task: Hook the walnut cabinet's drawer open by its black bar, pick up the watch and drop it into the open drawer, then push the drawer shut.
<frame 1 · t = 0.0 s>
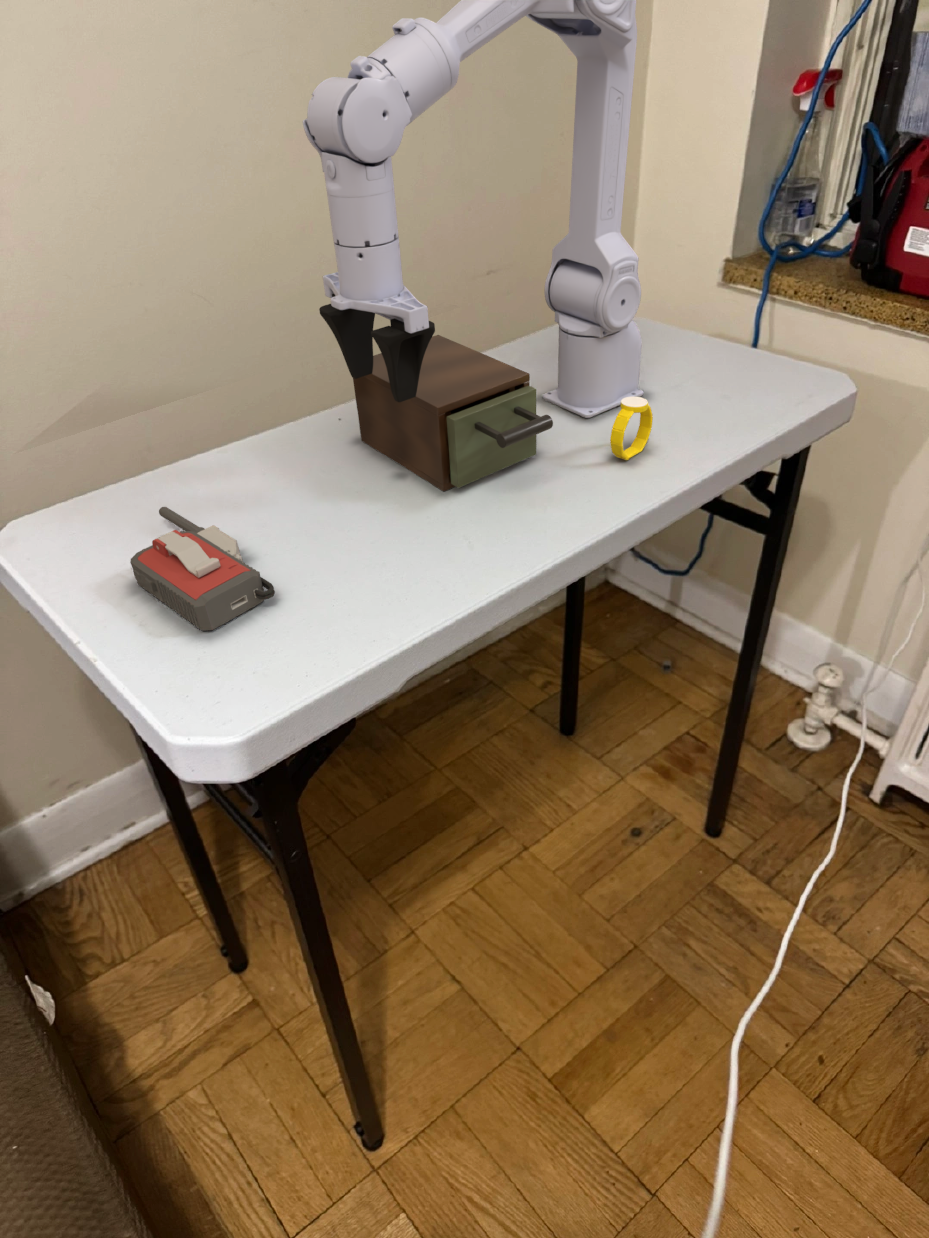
hand: (383, 386, 84), 10 cm above the table, tool pointing down, fingers open, 7 cm apart
drawer: (467, 423, 89), point 5 cm above the table, slide at 0.5 cm
cabinet: (443, 447, 95), on the table
watch: (629, 456, 92), on the table
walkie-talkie: (192, 575, 78), on the table
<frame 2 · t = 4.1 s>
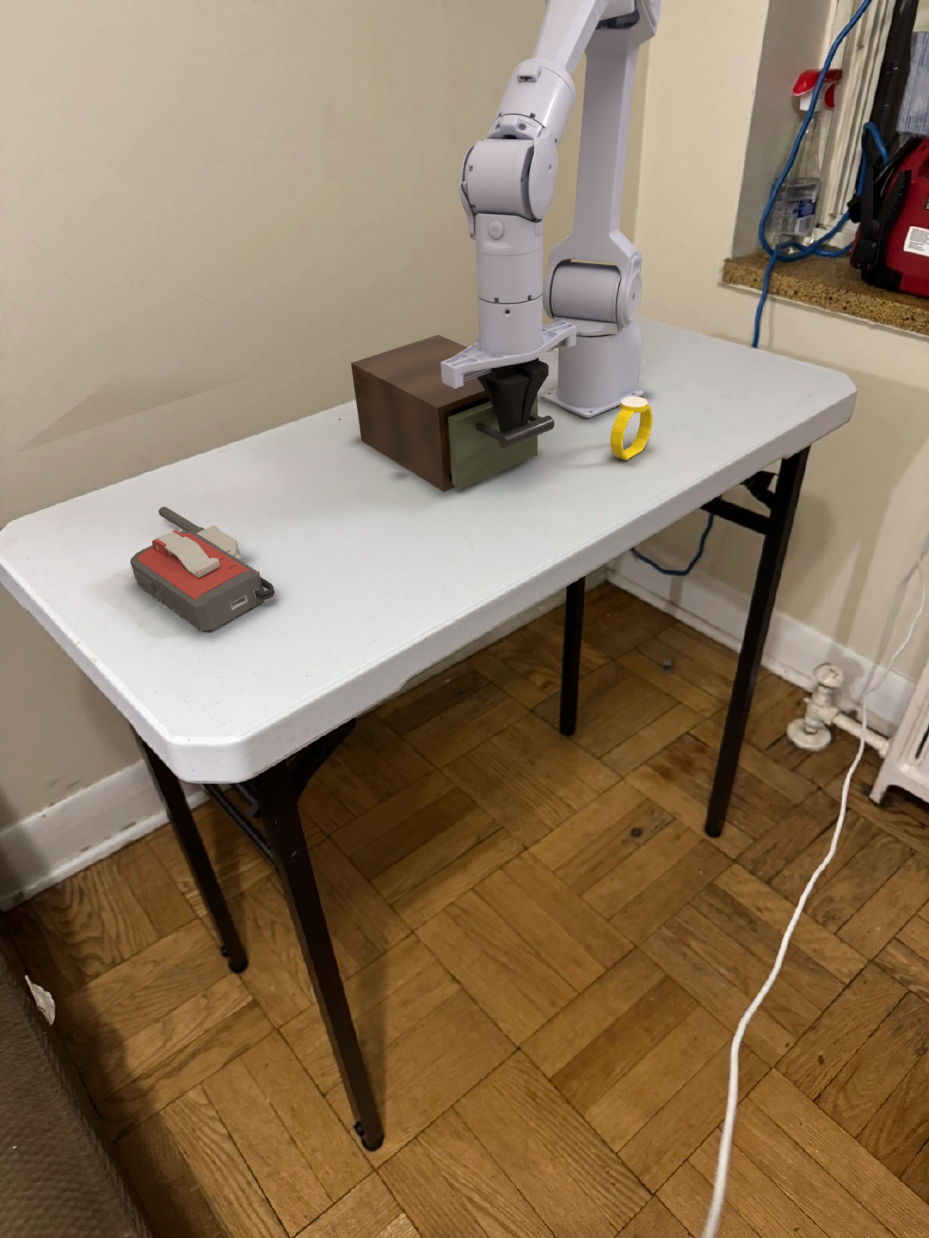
hand: (512, 436, 84), 6 cm above the table, tool pointing down, fingers closed, pressing on drawer
drawer: (469, 423, 89), point 5 cm above the table, slide at 0.7 cm, touching gripper
everything else where it was.
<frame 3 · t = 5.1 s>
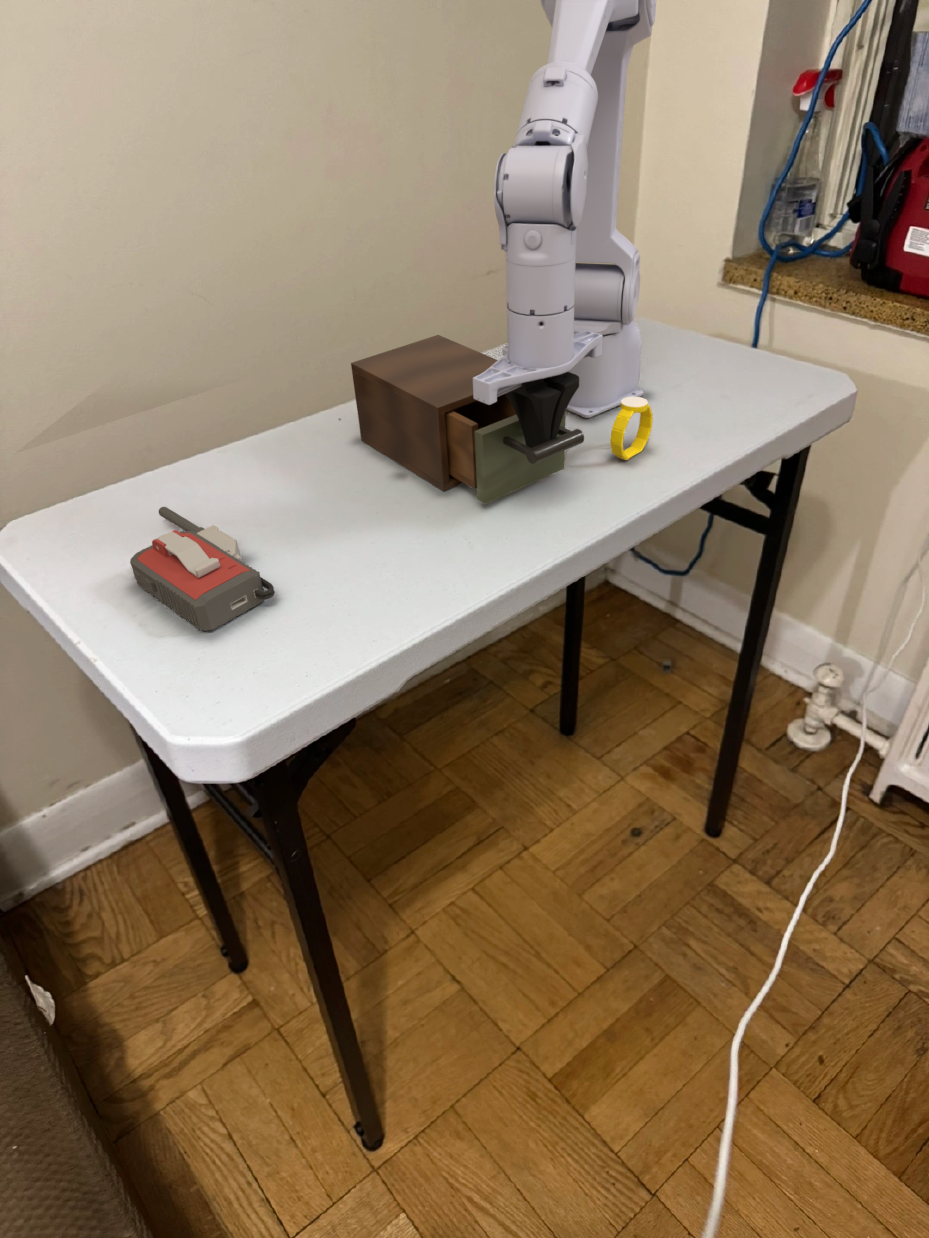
hand: (539, 450, 81), 6 cm above the table, tool pointing down, fingers closed
drawer: (494, 436, 87), point 5 cm above the table, slide at 4.8 cm, touching gripper
everything else where it was.
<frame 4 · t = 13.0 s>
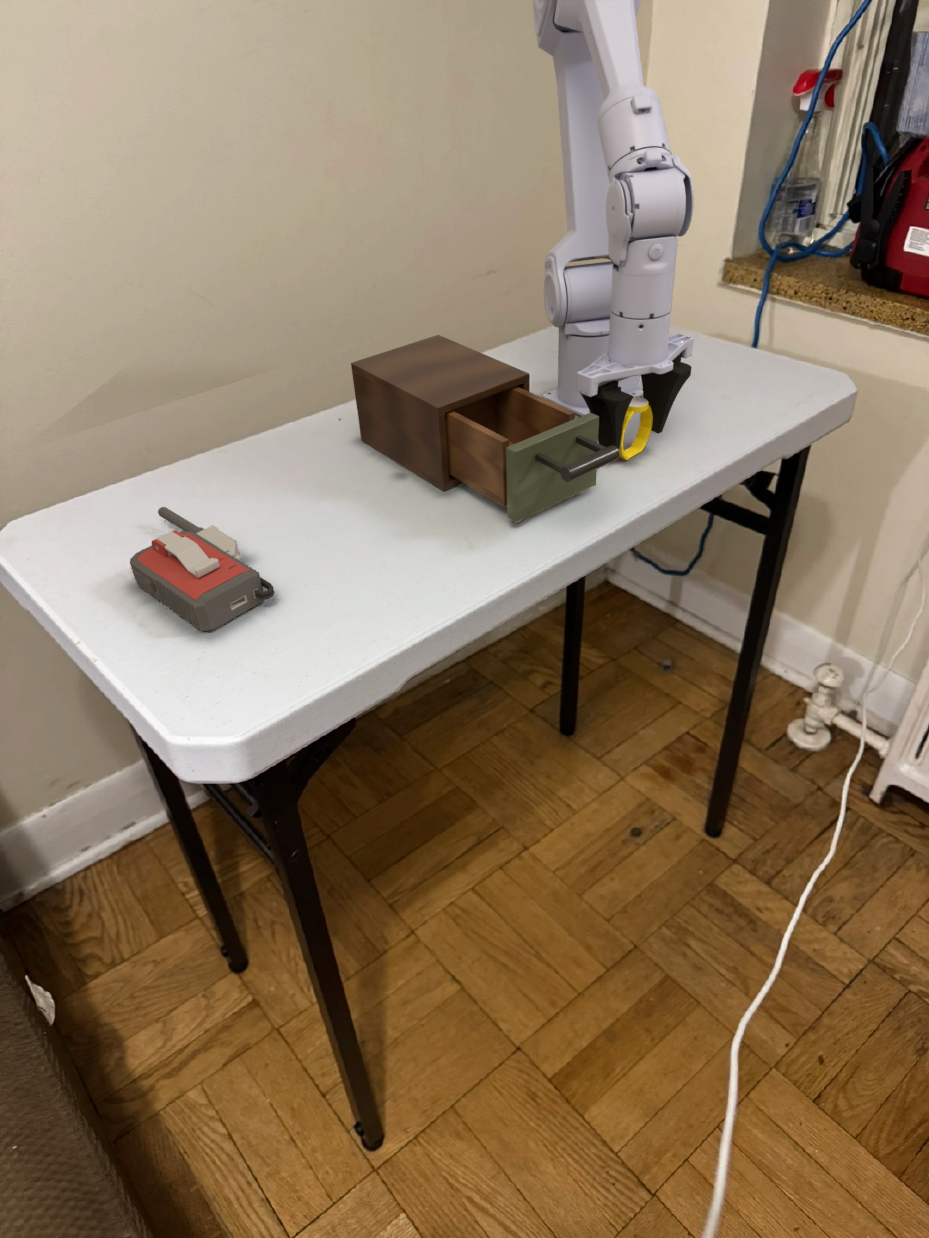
hand: (630, 440, 91), 2 cm above the table, tool pointing down, fingers closed on watch, 6 cm apart
drawer: (523, 452, 84), point 5 cm above the table, slide at 9.3 cm
watch: (629, 456, 92), on the table, touching gripper
everything else where it was.
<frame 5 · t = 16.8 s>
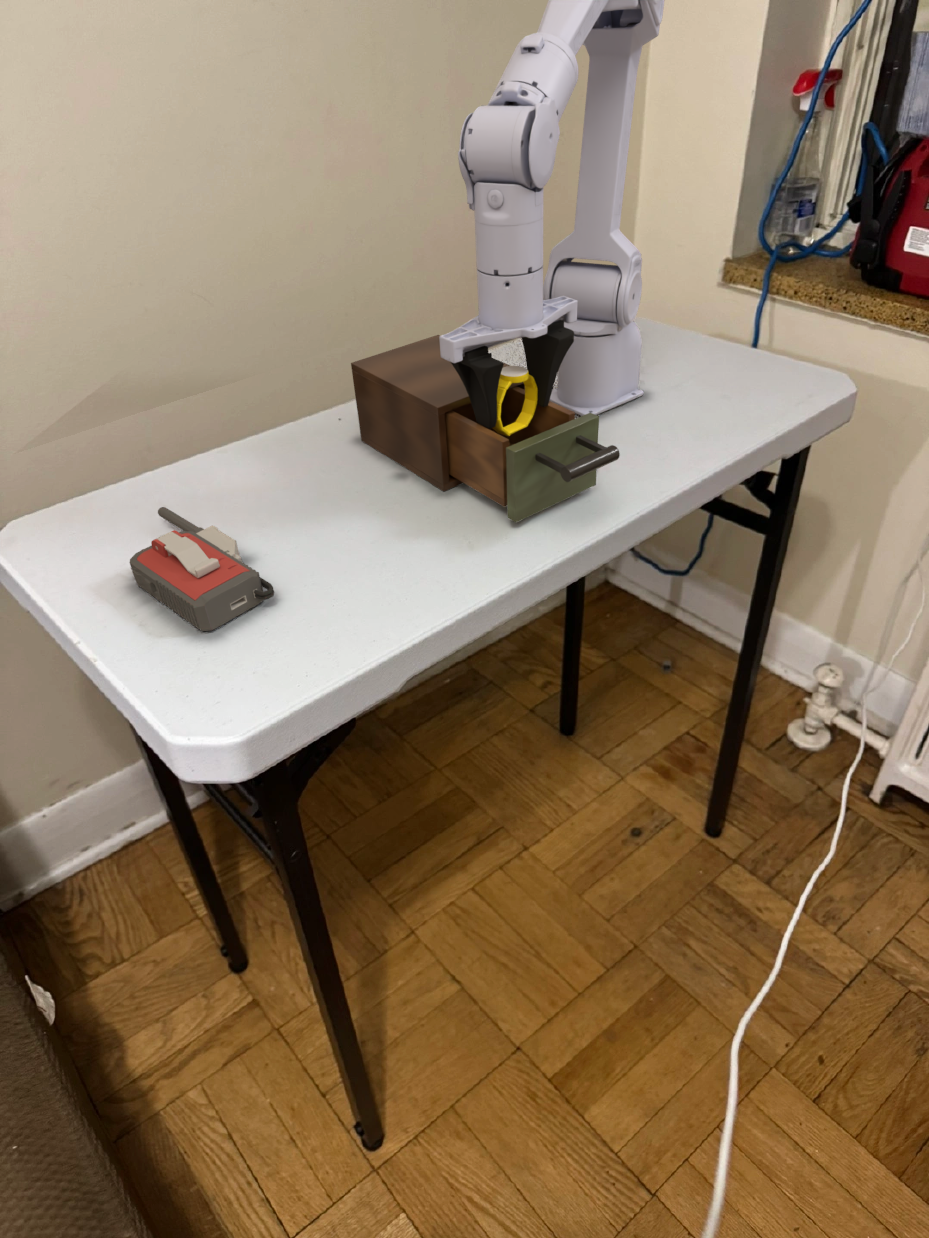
hand: (512, 413, 83), 8 cm above the table, tool pointing down, fingers closed on watch, 6 cm apart
drawer: (523, 452, 84), point 5 cm above the table, slide at 9.3 cm, touching gripper
watch: (513, 432, 84), point 6 cm above the table, touching gripper
everything else where it was.
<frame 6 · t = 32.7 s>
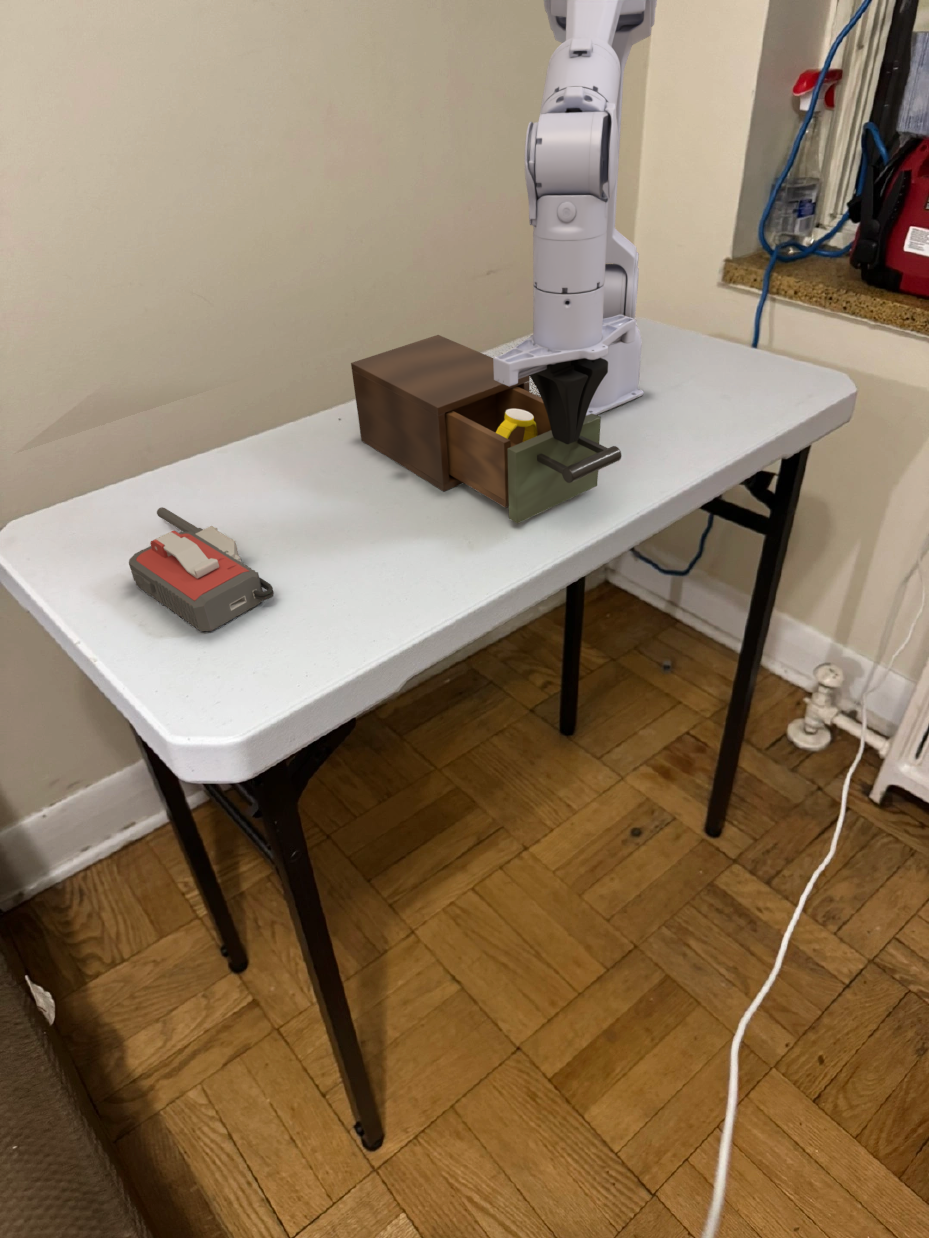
hand: (565, 439, 78), 8 cm above the table, tool pointing down, fingers closed, pressing on drawer
drawer: (525, 452, 84), point 5 cm above the table, slide at 9.5 cm, touching gripper, watch
watch: (507, 472, 85), point 2 cm above the table, touching drawer
everything else where it was.
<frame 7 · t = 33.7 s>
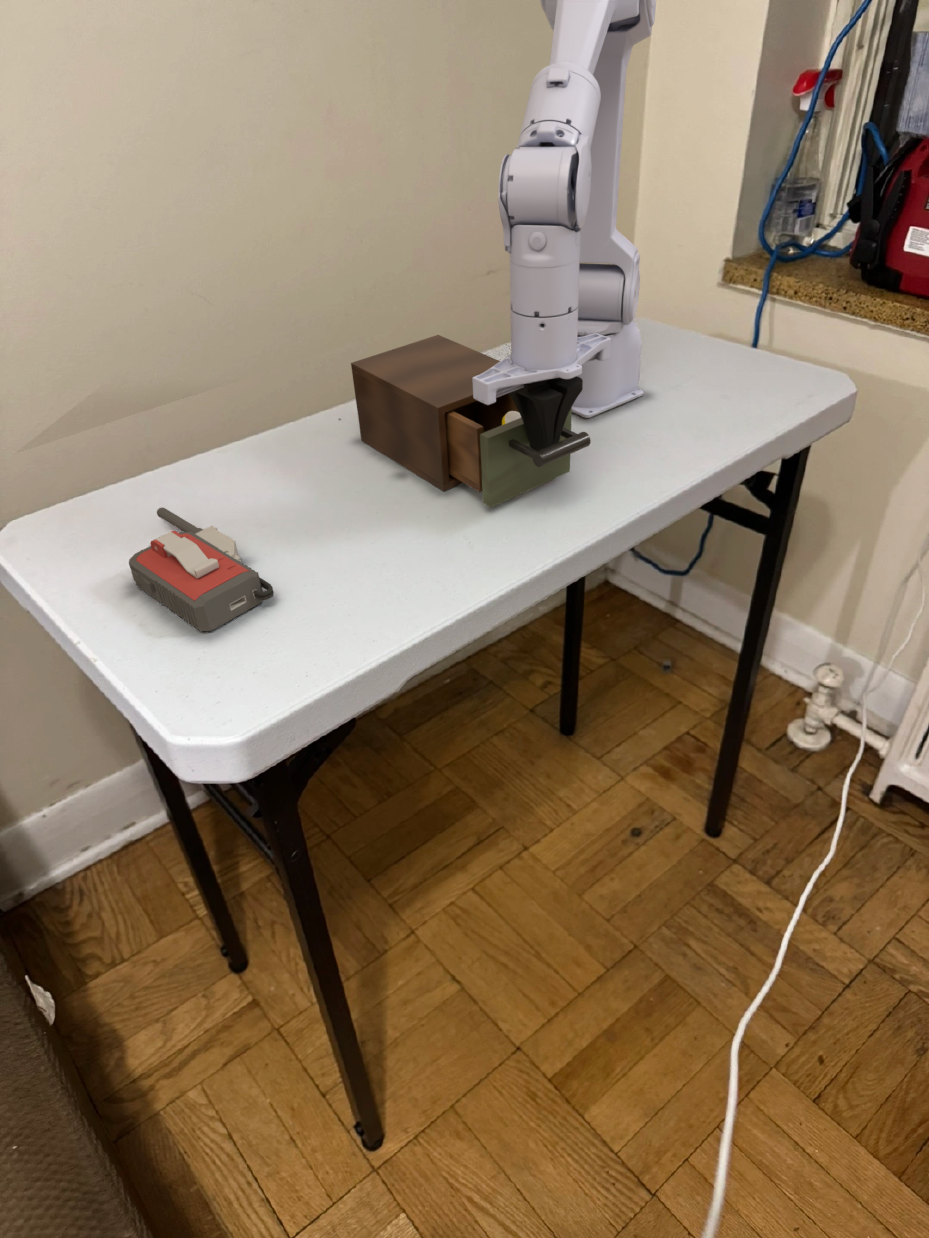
hand: (543, 452, 81), 6 cm above the table, tool pointing down, fingers closed, pressing on drawer
drawer: (499, 439, 86), point 5 cm above the table, slide at 5.6 cm, touching gripper, watch
watch: (488, 457, 88), point 2 cm above the table, touching drawer
everything else where it was.
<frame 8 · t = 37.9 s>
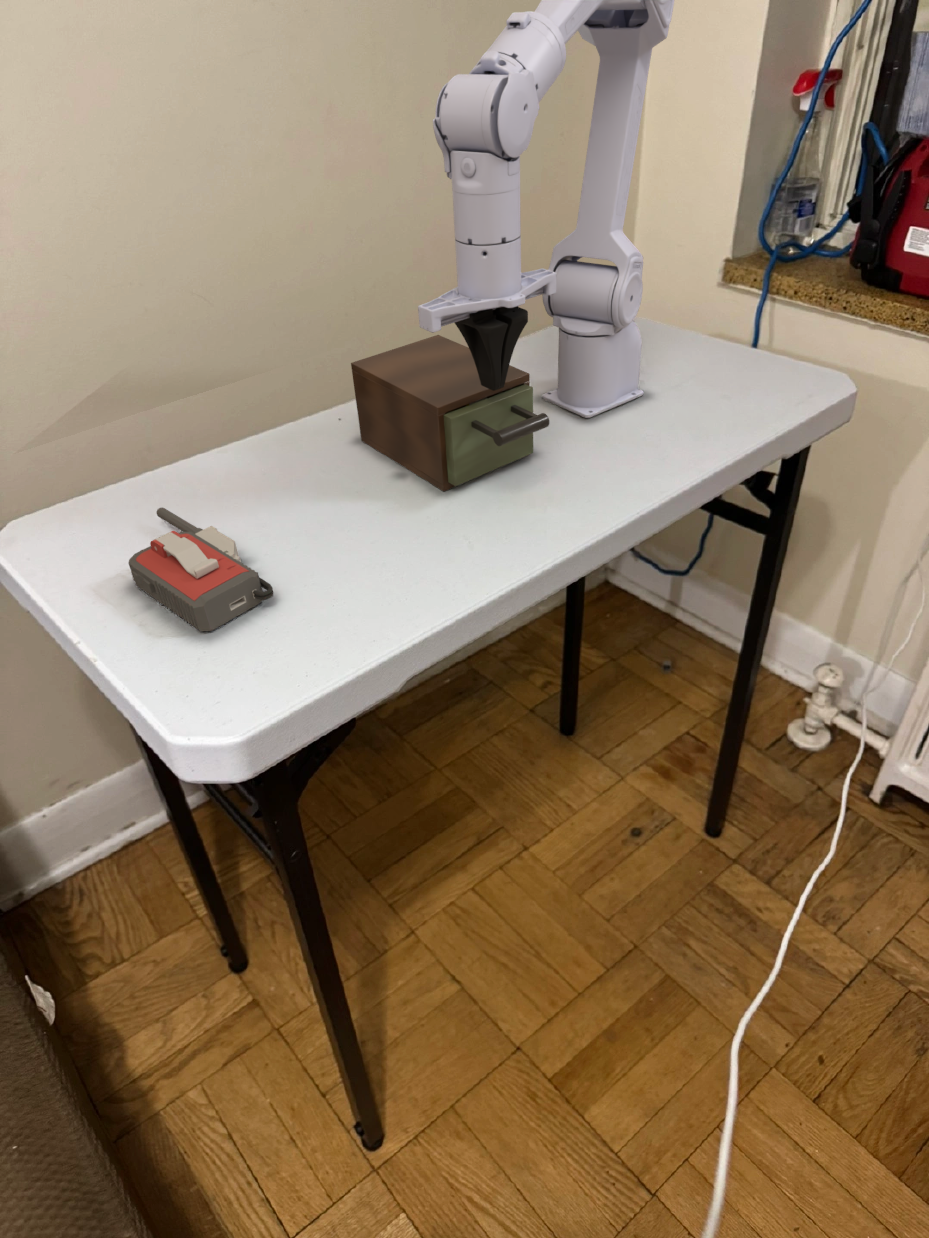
hand: (492, 386, 83), 10 cm above the table, tool pointing down, fingers closed
drawer: (464, 421, 90), point 5 cm above the table, slide at 0.0 cm, touching cabinet, watch
watch: (455, 439, 92), point 2 cm above the table, touching drawer
everything else where it was.
at the end: drawer pulled out 9.7 cm at the most during the clip, back to where it started at the end; watch inside the target area in the cabinet (3.1 cm from its centre), point 2.3 cm above the cabinet's base; drawer slide at 0.0 cm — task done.
